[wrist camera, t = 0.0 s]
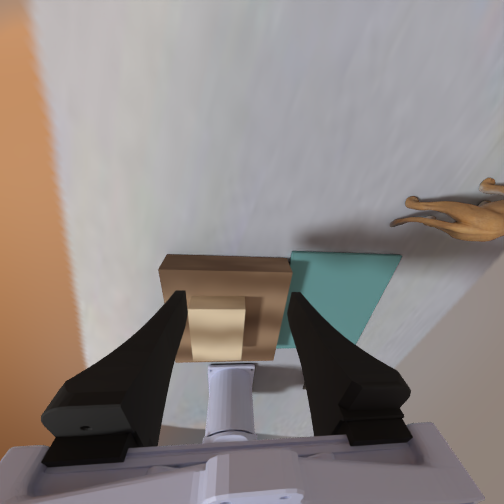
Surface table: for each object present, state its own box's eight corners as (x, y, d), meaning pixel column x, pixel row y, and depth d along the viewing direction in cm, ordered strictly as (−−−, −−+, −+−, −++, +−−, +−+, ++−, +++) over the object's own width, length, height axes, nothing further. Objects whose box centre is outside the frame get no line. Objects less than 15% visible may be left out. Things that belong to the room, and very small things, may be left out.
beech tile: (240, 346, 27) (241, 360, 26) (195, 346, 27) (193, 361, 25) (244, 296, 23) (245, 309, 21) (191, 295, 22) (187, 309, 21)
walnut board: (270, 342, 32) (273, 360, 30) (180, 343, 31) (175, 362, 28) (286, 258, 24) (292, 272, 22) (167, 254, 23) (158, 269, 20)
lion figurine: (534, 149, 20) (725, 158, 12) (518, 199, 23) (666, 232, 15) (385, 203, 22) (469, 241, 14) (386, 243, 24) (457, 293, 17)
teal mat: (353, 345, 34) (354, 347, 34) (272, 346, 33) (272, 348, 32) (400, 254, 25) (402, 256, 25) (292, 250, 24) (292, 252, 23)
